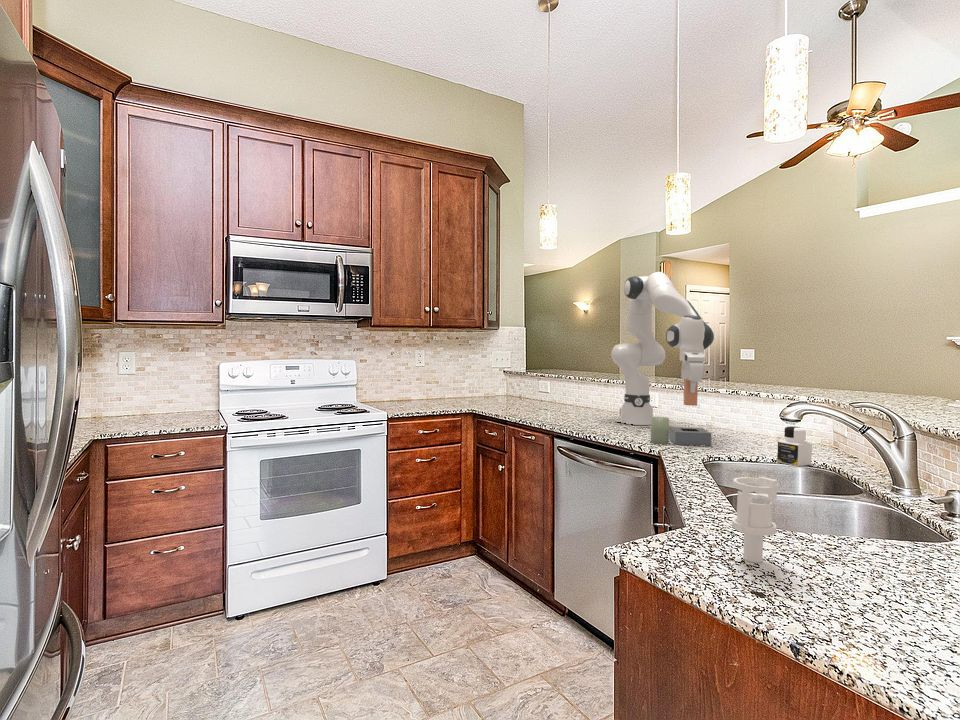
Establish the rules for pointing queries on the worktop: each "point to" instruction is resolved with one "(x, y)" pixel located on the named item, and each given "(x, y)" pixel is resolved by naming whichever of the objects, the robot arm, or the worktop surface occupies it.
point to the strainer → (755, 514)
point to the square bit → (690, 394)
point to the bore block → (689, 436)
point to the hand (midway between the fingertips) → (690, 391)
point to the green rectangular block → (659, 430)
